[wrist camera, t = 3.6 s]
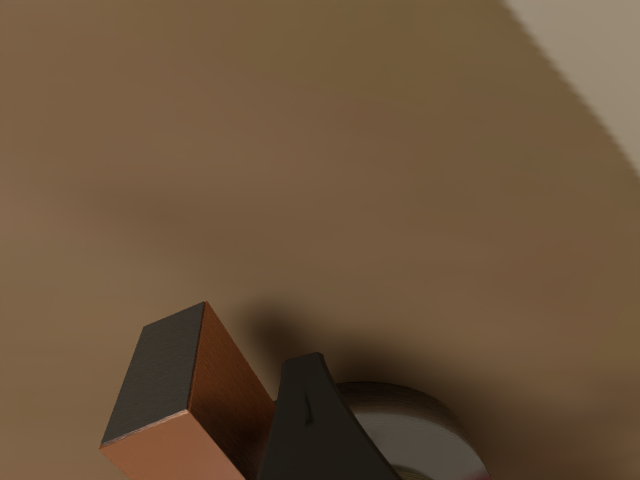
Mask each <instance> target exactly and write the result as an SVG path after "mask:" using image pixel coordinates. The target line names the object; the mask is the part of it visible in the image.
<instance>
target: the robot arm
mask: <svg viewBox="0 0 640 480" xmlns="http://www.w3.org/2000/svg"><path fill="white" fill-rule="evenodd" d="M256 480H403V479H402V478H401V477H400V475H399V474H398V473H397V472H396V471H395V469H394V468H393V467H392V466H391V464H390V463H389V462H388V461H387V459H386V458H385V457H384V456H383V454H382V453H381V452H380V450H379V449H378V448H377V446H376V445H375V444H374V442H373V441H372V440H371V438H370V437H369V436H368V434H367V433H366V431H365V430H364V429H363V427H362V426H361V424H360V423H359V421H358V420H357V418H356V417H355V415H354V414H353V412H352V411H351V409H350V408H349V406H348V405H347V403H346V401H345V400H344V398H343V396H342V395H341V393H340V391H339V389H338V388H337V386H336V384H335V382H334V380H333V378H332V376H331V374H330V372H329V370H328V368H327V365H326V363H325V360H324V357H323V354H321V353H319V352H315V353H311V354H308V355H304V356H300V357H297V358H293V359H289V360H286V361H285V362H284V363H283V365H282V371H281V380H280V387H279V393H278V398H277V403H276V408H275V413H274V417H273V421H272V425H271V429H270V433H269V437H268V441H267V445H266V449H265V452H264V456H263V459H262V462H261V465H260V469H259V472H258V475H257V478H256Z"/></svg>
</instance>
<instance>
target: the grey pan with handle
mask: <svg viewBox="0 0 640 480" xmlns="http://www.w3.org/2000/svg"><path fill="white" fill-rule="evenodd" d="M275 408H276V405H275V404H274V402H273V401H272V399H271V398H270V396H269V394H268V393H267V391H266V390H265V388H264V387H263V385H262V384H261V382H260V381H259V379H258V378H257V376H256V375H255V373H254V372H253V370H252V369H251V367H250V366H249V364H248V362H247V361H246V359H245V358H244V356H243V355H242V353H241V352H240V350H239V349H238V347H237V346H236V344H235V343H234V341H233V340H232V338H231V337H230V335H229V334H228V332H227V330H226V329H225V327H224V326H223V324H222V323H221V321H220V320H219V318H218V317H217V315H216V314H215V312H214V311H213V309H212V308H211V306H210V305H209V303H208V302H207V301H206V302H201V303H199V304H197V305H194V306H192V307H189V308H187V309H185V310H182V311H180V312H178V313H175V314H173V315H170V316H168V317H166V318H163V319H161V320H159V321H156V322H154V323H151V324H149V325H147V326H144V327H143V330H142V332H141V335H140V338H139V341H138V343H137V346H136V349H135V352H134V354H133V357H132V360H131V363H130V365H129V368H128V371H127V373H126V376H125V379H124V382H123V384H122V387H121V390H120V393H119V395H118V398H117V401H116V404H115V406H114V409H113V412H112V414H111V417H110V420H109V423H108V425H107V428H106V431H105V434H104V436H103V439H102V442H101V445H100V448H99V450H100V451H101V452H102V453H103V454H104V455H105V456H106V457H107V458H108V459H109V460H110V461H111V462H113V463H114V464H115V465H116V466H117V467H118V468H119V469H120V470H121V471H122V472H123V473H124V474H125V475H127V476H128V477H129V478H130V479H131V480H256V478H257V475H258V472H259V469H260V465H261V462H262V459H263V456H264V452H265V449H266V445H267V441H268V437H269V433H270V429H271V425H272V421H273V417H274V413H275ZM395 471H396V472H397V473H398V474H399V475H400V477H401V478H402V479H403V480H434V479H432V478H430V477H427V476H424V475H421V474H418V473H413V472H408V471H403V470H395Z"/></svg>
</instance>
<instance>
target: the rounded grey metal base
mask: <svg viewBox="0 0 640 480" xmlns="http://www.w3.org/2000/svg"><path fill="white" fill-rule="evenodd" d="M336 386H337V388H338V389H339V391H340V393H341V395H342V396H343V398H344V400H345V401H346V403H347V405H348V406H349V408H350V409H351V411H352V412H353V414H354V415H355V417H356V418H357V420H358V421H359V423H360V424H361V426H362V427H363V429H364V430H365V431H366V433H367V434H368V436H369V437H370V438H371V440H372V441H373V442H374V444H375V445H376V446H377V448H378V449H379V450H380V452H381V453H382V454H383V456H384V457H385V458H386V459H387V461H388V462H389V463H390V464H391V466H392V467H393V468H394V469H395V470H403V471H408V472H413V473H418V474H421V475H424V476H427V477H430V478H432V479H434V480H491V477H490V474H489V473H488V471H487V469H486V467H485V465H484V464H483V462H482V460H481V458H480V456H479V455H478V453H477V451H476V449H475V447H474V446H473V444H472V442H471V440H470V438H469V437H468V435H467V433H466V431H465V430H464V428H463V426H462V424H461V423H460V421H459V420H458V418H457V417H456V416H455V415H454V414H453V413H452V411H451V410H450V409H449V408H447V407H446V406H445V405H443V404H442V403H441V402H439V401H438V400H436V399H434V398H432V397H431V396H429V395H427V394H425V393H422V392H419V391H416V390H413V389H411V388H407V387H403V386H398V385H393V384H385V383H374V382H353V383H342V384H336ZM273 402H274V404H275V405H276V403H277V400H276V401H273Z"/></svg>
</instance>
